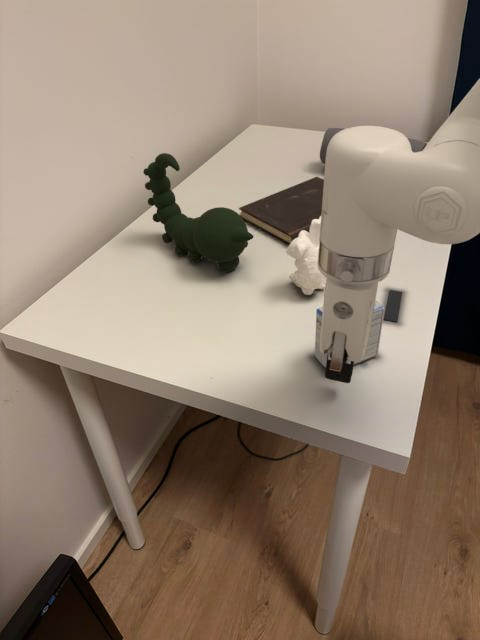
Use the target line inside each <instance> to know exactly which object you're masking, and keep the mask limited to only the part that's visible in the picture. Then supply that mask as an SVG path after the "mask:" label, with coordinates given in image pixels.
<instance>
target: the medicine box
mask: <svg viewBox="0 0 480 640" xmlns="http://www.w3.org/2000/svg"><path fill="white" fill-rule="evenodd" d="M385 311H386V307H385V306H383V305H382V304H381V303H380V302H379V301H377V300H375V306H374V311H373V317H372V323H371V327H370V332H369V337H368V341H367V346H366V350H365V354H364V358H363V360H361V361H360V362H354V366H355V365H357V364H359V363H361V362H364V361H366V360H369V359H371V358H373V357H376V356H378V355H379V349H380V342H381V337H382V329H383V322H384V317H385ZM315 312H316V314H315V337H314V338H315V341H314V357H315V358H316V359H317V361H318V362H320V364H321V365H322V366H323V367H324V368H325V369H326V363H327V355H328V352H329V349H328V352H327V354H325V355H323V354H322V353H321V351H320V337H321V324H322V313H323V306H321V307H318V308H316V311H315Z"/></svg>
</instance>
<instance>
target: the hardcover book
mask: <svg viewBox="0 0 480 640" xmlns="http://www.w3.org/2000/svg"><path fill="white" fill-rule="evenodd" d="M323 187H324V178H322V177H319V176H315V177H312V178H309V179H307V180H304V181H302V182H300V183H297V184H294V185H292V186H290V187H288V188H285V189H282V190H279V191H277V192H274V193H273V194H270V195H267V196H265V197H262V198H260V199H258V200H255V201H252V202H250V203H247V204H245V205H243V206H239V207H238V210H240V216H241V217H242V219H243V220H244V222H247V223H248V224H250V225H252V226H253V227H255V228H258V229H260V230H261V231H263V232H265V233H266V234H268V235H270V236H272V237H274V238H275V239H277V240H279V241H281V242H283V243H285V244H287V245H288V246H289V245H290V243H291V242H292V241H293V240H294V239H295V238H298V237H299V233H300V232H301V231H302V230H305V231H307V232H308V233H309V231H310V226H311V222H312V220H313V219H319V217H320V216H321V213H322V200H323Z"/></svg>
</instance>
